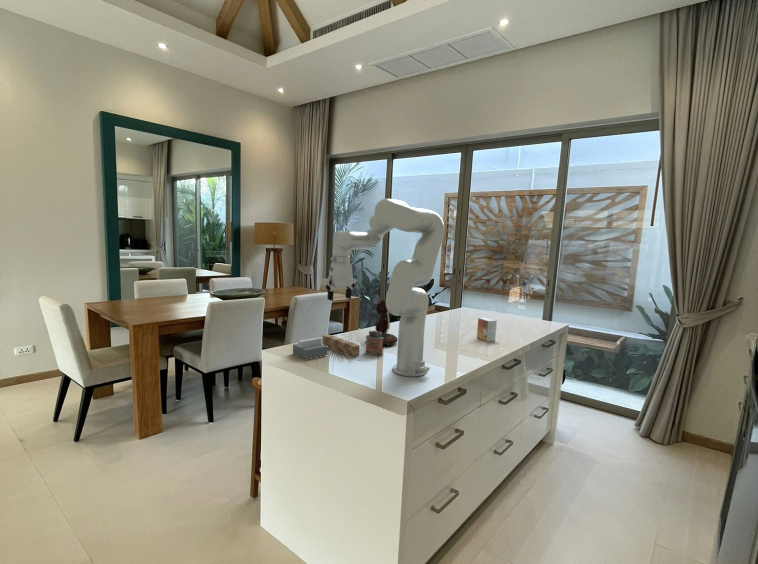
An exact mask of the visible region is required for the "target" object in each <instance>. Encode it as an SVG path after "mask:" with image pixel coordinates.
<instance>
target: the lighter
mask: <svg viewBox="0 0 758 564" xmlns="http://www.w3.org/2000/svg"><path fill="white" fill-rule="evenodd" d="M379 335H382V332H378V331H376V329H374V330H369V331H368V334H367V335H365V338H366V341H365V345H366V346H365V352H364V353H365V354H368V355H371V354H372V355H371V356H375V357H376V356H378V357H381V356H383V355H384V353H383V348H384V347H383V346H384V344H383V339H384V338H383V337H379Z"/></svg>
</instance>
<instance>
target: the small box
mask: <svg viewBox="0 0 758 564" xmlns="http://www.w3.org/2000/svg"><path fill="white" fill-rule="evenodd" d="M497 322H498V321H497V320H495V319H492V318H488V317H478V320H477V330H476V332H477V333H476V338H477V337H478V338H477V339H480V340H482V339H483V341H485V342H494V340H495V341H496V333H497V324H498V323H497Z"/></svg>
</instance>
